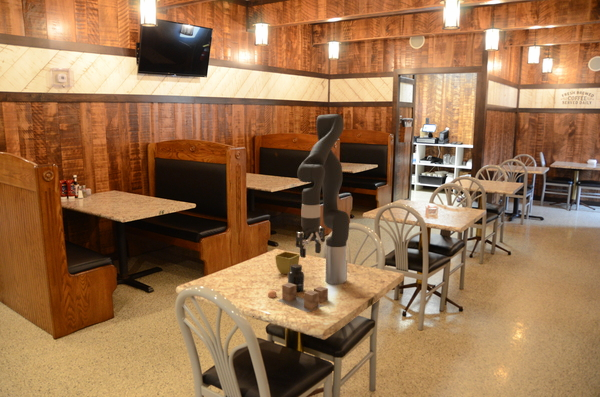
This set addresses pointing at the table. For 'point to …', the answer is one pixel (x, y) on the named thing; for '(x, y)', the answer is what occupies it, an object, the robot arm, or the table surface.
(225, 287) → the table surface
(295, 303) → the slate board
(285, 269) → the flower pot
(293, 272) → the supplement bottle
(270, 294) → the ball
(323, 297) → the loose block
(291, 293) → the block
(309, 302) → the block
